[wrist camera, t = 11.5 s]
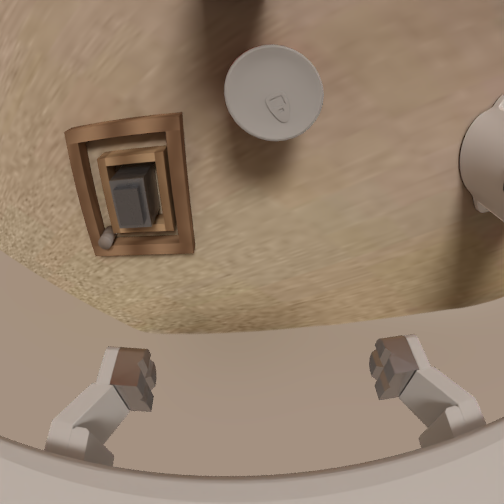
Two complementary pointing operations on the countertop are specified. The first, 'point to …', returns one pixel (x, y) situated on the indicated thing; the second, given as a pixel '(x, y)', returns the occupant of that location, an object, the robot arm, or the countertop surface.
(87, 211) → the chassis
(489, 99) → the countertop surface
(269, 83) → the canned food
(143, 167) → the grey block
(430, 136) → the countertop surface
